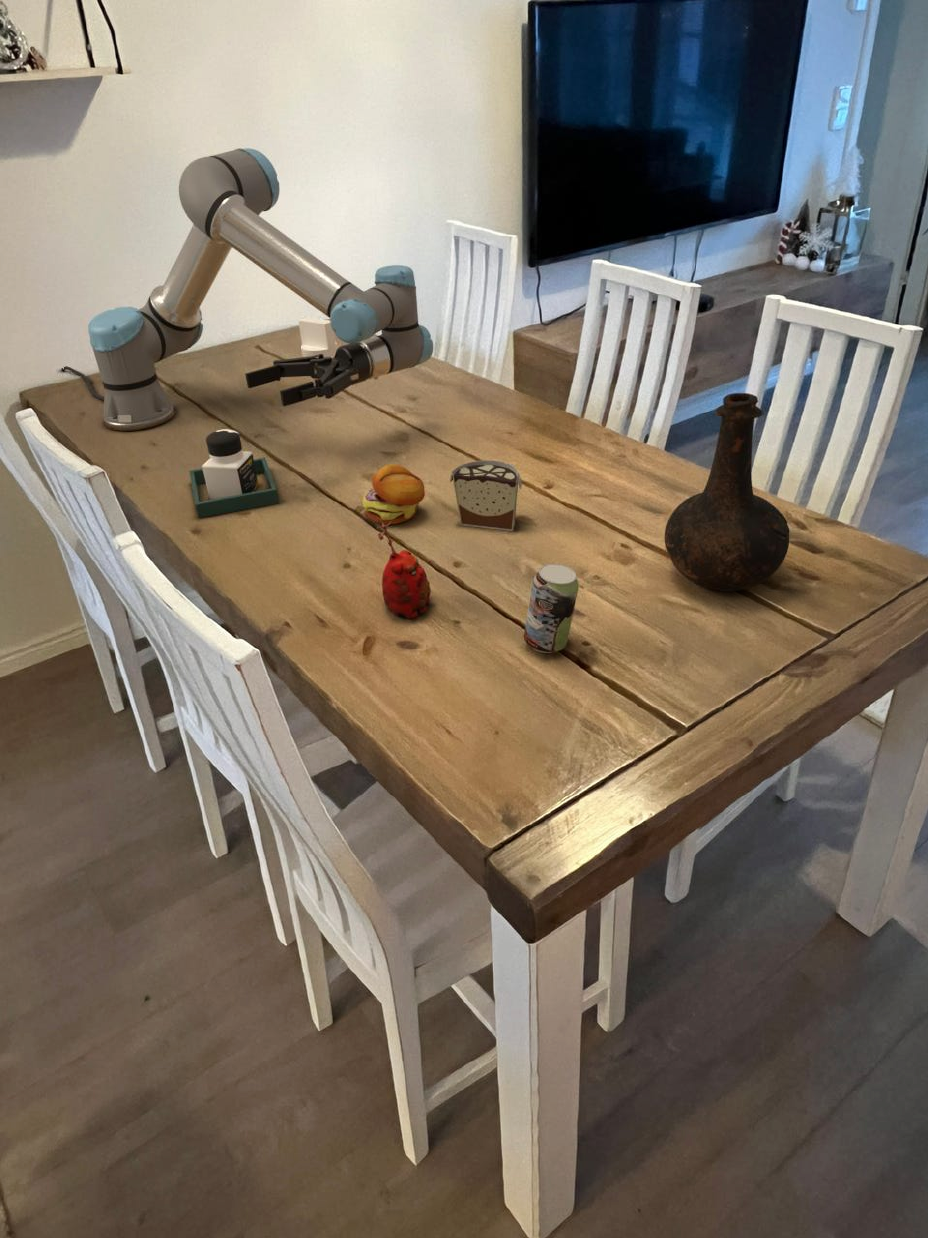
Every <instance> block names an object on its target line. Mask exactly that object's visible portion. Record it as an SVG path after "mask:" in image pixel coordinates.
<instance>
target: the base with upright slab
mask: <svg viewBox="0 0 928 1238" xmlns="http://www.w3.org/2000/svg"><path fill="white" fill-rule="evenodd" d="M298 327H299V334H300V340H301V346H300V351H301V357H309V356H314V355H319V354H323V356H324V357H331V358H334V356H335V354H336V351H337V349H338V348H339V347H338V343H337V341H336V337H335V336H336V335H335V332H334V330H332V327H331V323H330V319H329V320H328V319H320V318H313V317H303V318H300V319H298ZM315 371H316V370H315Z"/></svg>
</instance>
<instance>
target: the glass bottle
mask: <svg viewBox="0 0 928 1238" xmlns="http://www.w3.org/2000/svg"><path fill="white" fill-rule="evenodd" d="M722 403H723V404H722V405H720V406H718V407H716V409H715V415H717V416H719V417H721V420H720V426H719V431H718V437H717V442H716V445H715V446H716V447H715V450H714V451H715V452H714V455H713V460H712V464H711V468H710V472H709V475H708V479H707V481H706V484H705V487H704V489H703V491H702V492H699V493H697V494H695V495H691V496H690V497H688V498H686V499H684V501H682V502H681V503H679V504H678V505H677V506H676V507H675V509H673V511H672V513H671V514H670V516H669V517H668V520H667V522H666V525H665V529H664V545H665V549H666V553H667V555H668V557H669V559H670V561H671V563H672V565H673V566H674V568H676V570H677V571H678V572H679V573H680V574H681V575H682V576H683V577H684V578H685V579H687V580H689V581H690V582H691V583H694V584H695V585H698V586H700V587H702V588H706V589H708V590H712V591H720V592H736V591H737V592H738V591H743V590H747V589H750V588H753V587H756V586H758V585H760V584H762V583H764V582H765V581H767V580H768V579H769V578H770V577H772V576H773V575H774V574H775V573H776V572H777V571H778V569H779V568H780V567H781V566H782V564H783V562H784V561H785V558H786V556H787V553H788V551H789V547H790V527H789V525H788V521H787V519H786V517H785V516H784V513H782V512H781V511H780V510H779V508H777V507H776V506H775V505H773V503H771V502H770V501H768V500H766V499H765V498H763V497H761V496H759V495H756V494H754V489H753V479H752V477H753V475H752V472H753V470H752V465H753V464H752V462H753V461H752V460H753V439H754V428H755V419H757V418H760V417H762V415H763V410H762V409H760V408H759V407H758V406H757V403H759V399H758V396H756V395H754V394H752V393H747V392H734V393H733V392H732V393H729V394H727V395H725V396H724V397H723V398H722Z"/></svg>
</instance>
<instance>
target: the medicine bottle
mask: <svg viewBox="0 0 928 1238" xmlns="http://www.w3.org/2000/svg"><path fill="white" fill-rule="evenodd" d="M205 442H206V447H207V451H208V456H209V459H207V461H205V462H204V463H203V464H202V466H201V469H203V473H204V477H205V482H206V483H205V486H206V490H207V493H208V494H207V495H208V500H213V499H218V498H224V497H229V496H234V495H240V494H245V493H251V492H255V490H256V489H257V488H258V487H259V479H258V475H257V474H256V469H255V464H254V459H255V458H254V455H253V452H252V451H244V450H243V445H242V440H241V436H240V433H239V432H238V431H236V430H235V429H234V430H233V429H226V428H225V429H224V428H223V429H219V430H215V431H213V432H211V433H209V434H208V435H207V436H206V438H205Z"/></svg>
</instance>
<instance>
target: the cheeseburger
mask: <svg viewBox="0 0 928 1238" xmlns="http://www.w3.org/2000/svg"><path fill="white" fill-rule="evenodd" d="M371 481H372V482H371V485H372V487H371V488H369V489H368V490H367V491H366V493H364V495H363V497H362V507H363V509H364V513H365V515H366V517H367V518H369V519H370V520H371V521H374V522H376V523H377V524H381V522H380V521H378V519H380V520H381V521H382V522H383V524H384V525H388V524H389V523H390V522H392V523H391V524H390V525H395V524H396V525H397V524H400V523H403V522H407V521H408V520H410V519H411V518H413V517H414V516H415V515H416V513H417V510H418V506H419V504H420V502H422V501H423V500H424V498H425V496H426V492H425V484H424V482H423V480H422V478H420V477H419V476H417V475H415V474H414V473H413V472H411V471H410V470H409V469H407V468H406V466H404V465H401V464H398V463H397V464H395V463H389V464H386V465H385V466H383V467H381V468H380V469H378V470H377V472H375V473H374V475H373V477H372V479H371Z"/></svg>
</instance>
